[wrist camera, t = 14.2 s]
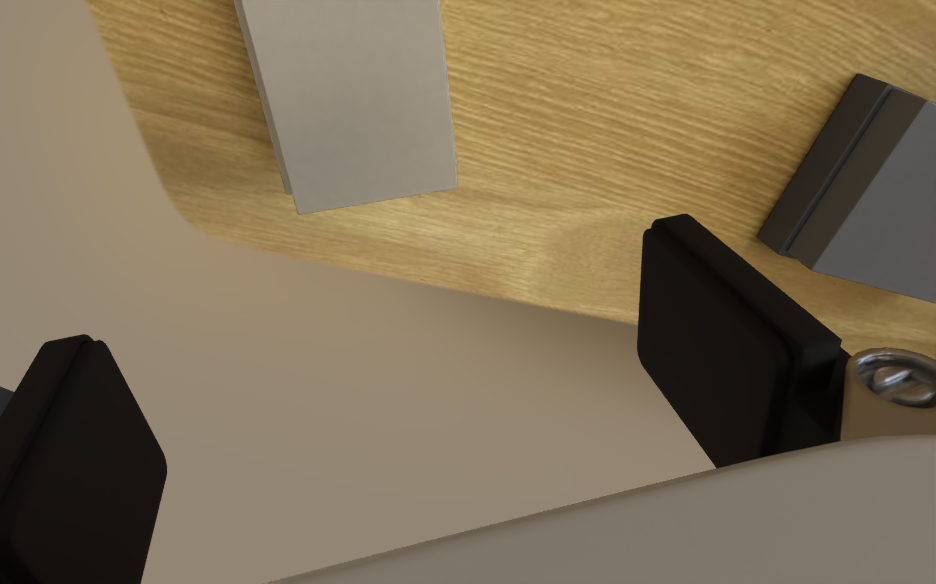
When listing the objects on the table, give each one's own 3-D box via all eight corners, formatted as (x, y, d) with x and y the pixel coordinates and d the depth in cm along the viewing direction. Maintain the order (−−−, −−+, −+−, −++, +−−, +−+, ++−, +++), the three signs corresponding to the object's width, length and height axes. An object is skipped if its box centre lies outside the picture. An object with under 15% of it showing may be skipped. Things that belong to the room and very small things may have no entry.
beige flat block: (211, -149, 20) (199, -153, 18) (409, -169, 21) (418, -175, 19) (299, 191, 27) (297, 215, 25) (448, 167, 28) (457, 188, 26)
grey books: (755, 236, 38) (802, 274, 34) (857, 72, 33) (923, 95, 30) (925, 284, 43) (981, 320, 39) (1033, 146, 38) (1108, 174, 35)
